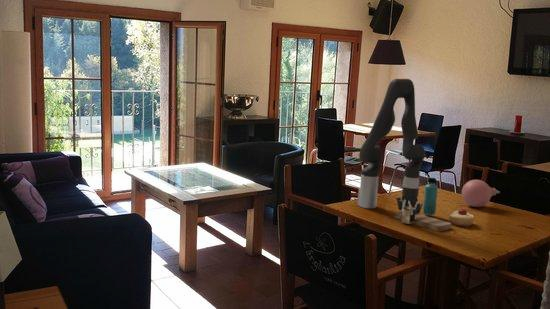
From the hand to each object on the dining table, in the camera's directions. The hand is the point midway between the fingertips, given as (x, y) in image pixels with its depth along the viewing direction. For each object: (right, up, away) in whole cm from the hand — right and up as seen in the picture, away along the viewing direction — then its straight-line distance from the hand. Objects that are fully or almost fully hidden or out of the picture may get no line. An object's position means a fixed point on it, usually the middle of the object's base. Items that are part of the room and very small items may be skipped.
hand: (407, 220), depth 255 cm
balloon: (+50, +2, +40) cm, 64 cm away
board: (+8, -2, +3) cm, 9 cm away
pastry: (+27, -3, +5) cm, 28 cm away
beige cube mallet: (+2, -1, +2) cm, 3 cm away
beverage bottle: (+15, 0, +17) cm, 22 cm away
